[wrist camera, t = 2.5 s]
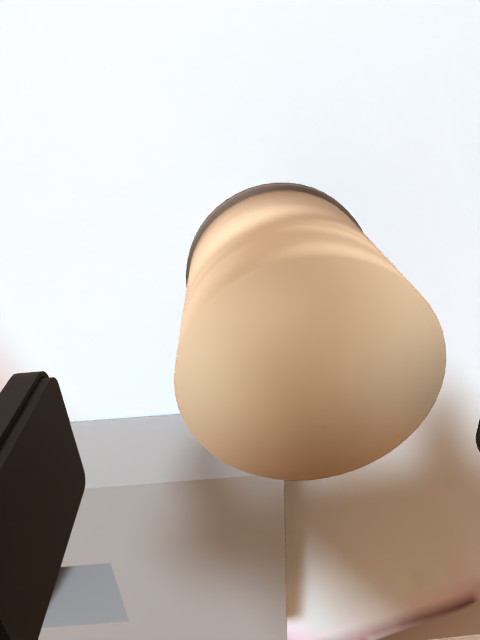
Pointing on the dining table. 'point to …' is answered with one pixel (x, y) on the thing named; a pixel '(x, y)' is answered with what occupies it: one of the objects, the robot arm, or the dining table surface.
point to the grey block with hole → (168, 541)
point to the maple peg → (300, 339)
